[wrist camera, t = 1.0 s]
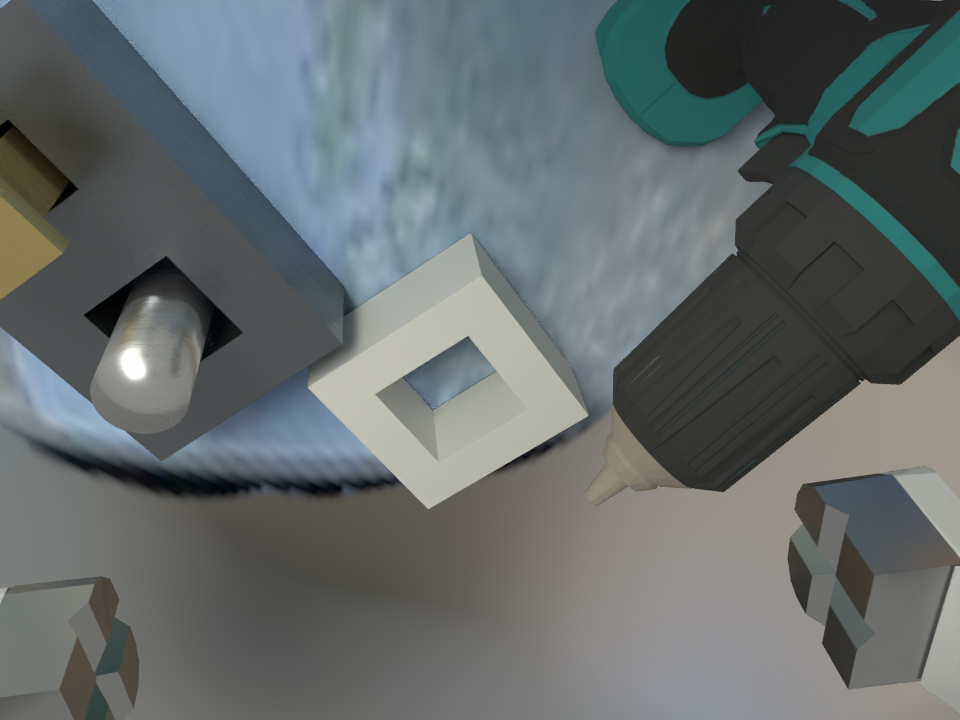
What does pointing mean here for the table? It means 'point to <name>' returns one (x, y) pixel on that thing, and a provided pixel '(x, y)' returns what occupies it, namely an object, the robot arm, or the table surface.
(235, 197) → the socket block
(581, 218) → the table surface
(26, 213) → the wooden tenon block
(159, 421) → the metal cylinder
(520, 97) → the table surface
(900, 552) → the robot arm
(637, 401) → the power drill
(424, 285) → the cream square open frame
